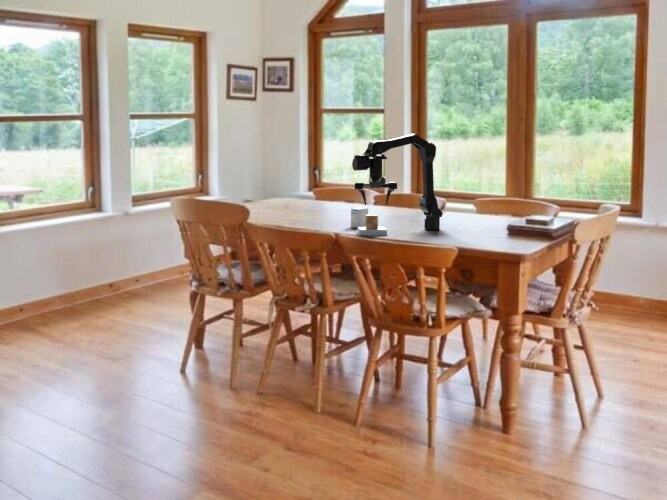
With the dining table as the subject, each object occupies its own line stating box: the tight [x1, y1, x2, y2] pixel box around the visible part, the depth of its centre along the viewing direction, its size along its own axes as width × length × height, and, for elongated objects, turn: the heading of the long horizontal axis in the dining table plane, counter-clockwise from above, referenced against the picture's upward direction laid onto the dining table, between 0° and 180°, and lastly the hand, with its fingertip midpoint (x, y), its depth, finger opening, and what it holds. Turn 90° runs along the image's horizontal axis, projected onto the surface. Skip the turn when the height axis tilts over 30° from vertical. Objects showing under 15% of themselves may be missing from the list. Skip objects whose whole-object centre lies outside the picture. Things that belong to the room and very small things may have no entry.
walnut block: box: [365, 213, 379, 229], centre depth 340 cm, size 5×5×6 cm
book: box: [357, 226, 388, 236], centre depth 341 cm, size 12×9×3 cm
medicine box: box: [350, 206, 369, 229], centre depth 361 cm, size 8×4×9 cm, turn 141°
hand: (376, 205), depth 340 cm, fingers open, 9 cm apart
